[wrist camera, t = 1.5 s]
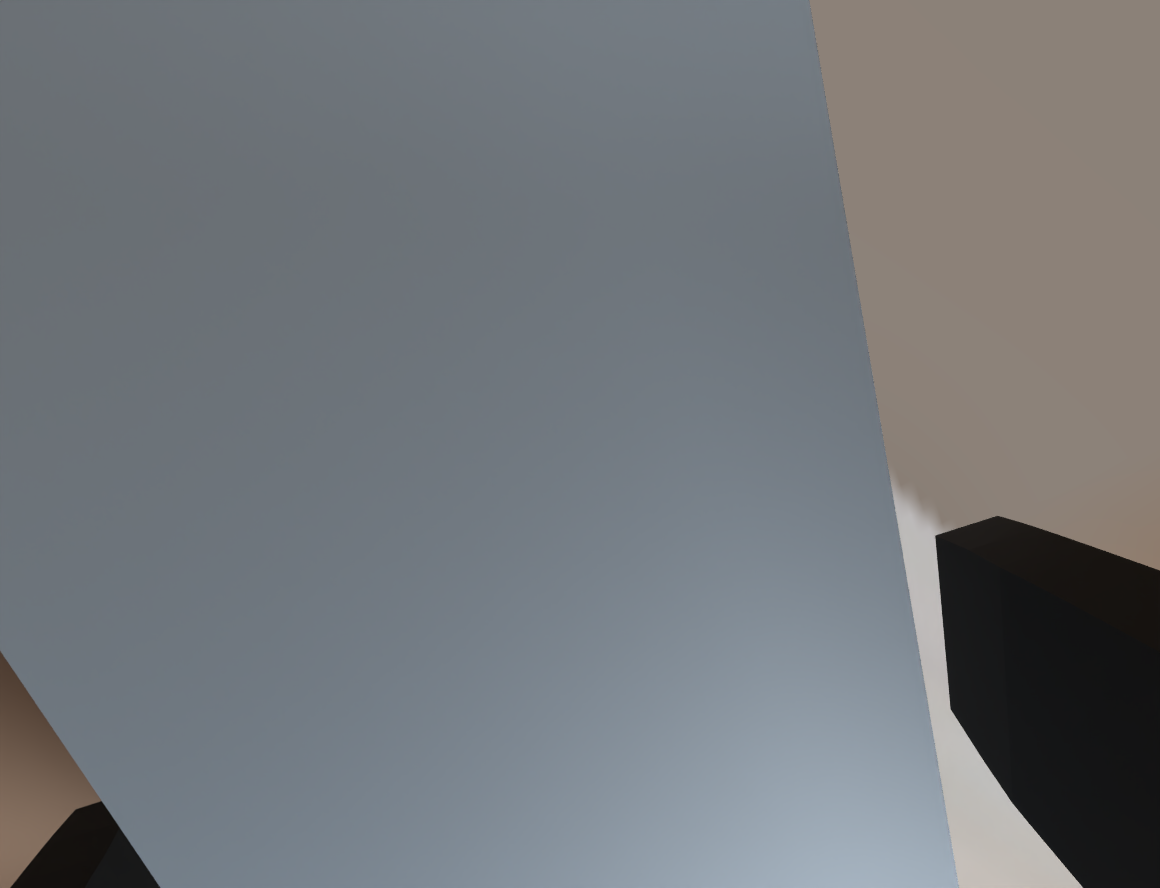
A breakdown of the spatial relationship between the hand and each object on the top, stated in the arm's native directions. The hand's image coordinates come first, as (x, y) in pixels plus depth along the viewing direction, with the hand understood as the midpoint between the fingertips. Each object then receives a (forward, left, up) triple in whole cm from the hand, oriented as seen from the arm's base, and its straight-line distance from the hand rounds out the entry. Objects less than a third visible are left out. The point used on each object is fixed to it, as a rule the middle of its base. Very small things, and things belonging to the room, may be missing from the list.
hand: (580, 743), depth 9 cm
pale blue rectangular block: (0, 0, -3) cm, 3 cm away
